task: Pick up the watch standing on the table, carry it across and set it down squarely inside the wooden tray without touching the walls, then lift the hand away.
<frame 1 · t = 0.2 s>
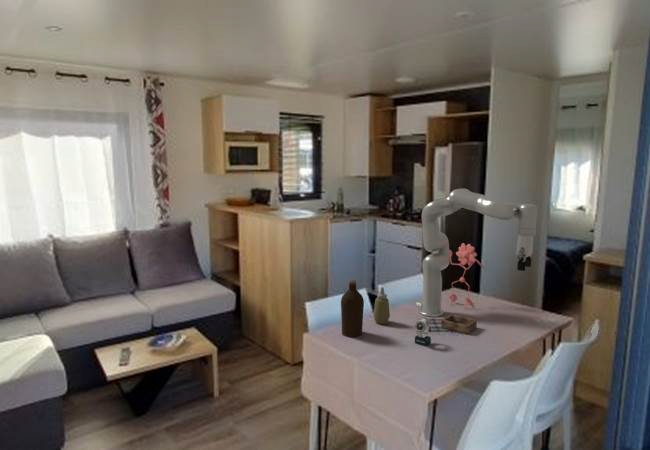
hand: (524, 268, 206), 31 cm above the table, tool pointing down, fingers open, 9 cm apart
olive oil: (352, 333, 209), on the table
watch: (422, 344, 198), on the table
wooden tray: (458, 328, 216), on the table
figurine: (464, 305, 252), on the table
squeeze bottle: (381, 322, 224), on the table
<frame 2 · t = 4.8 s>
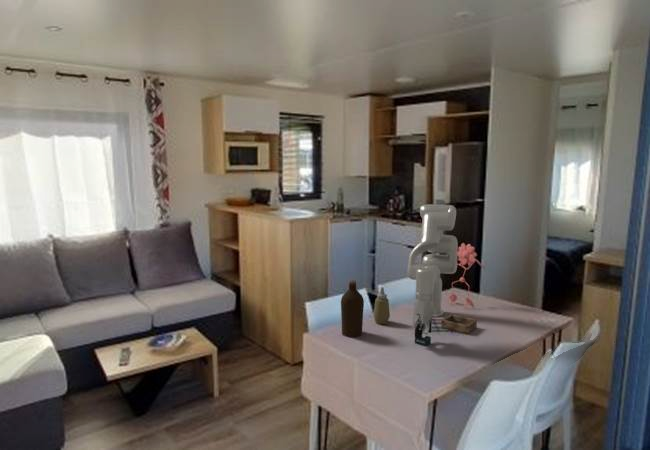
hand: (423, 334, 197), 4 cm above the table, tool pointing down, fingers closed on watch, 8 cm apart
watch: (422, 344, 198), on the table, touching gripper
everything else where it was.
when the fingers open (6 cm above the table, at t = 11.9 s): watch drops 1 cm, resting on wooden tray.
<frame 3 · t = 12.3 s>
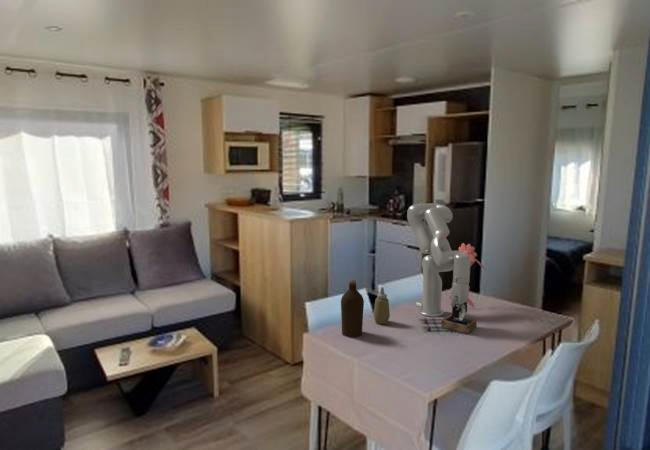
hand: (459, 314, 215), 7 cm above the table, tool pointing down, fingers open, 9 cm apart
watch: (459, 326, 217), point 1 cm above the table, touching wooden tray
everything else where it was.
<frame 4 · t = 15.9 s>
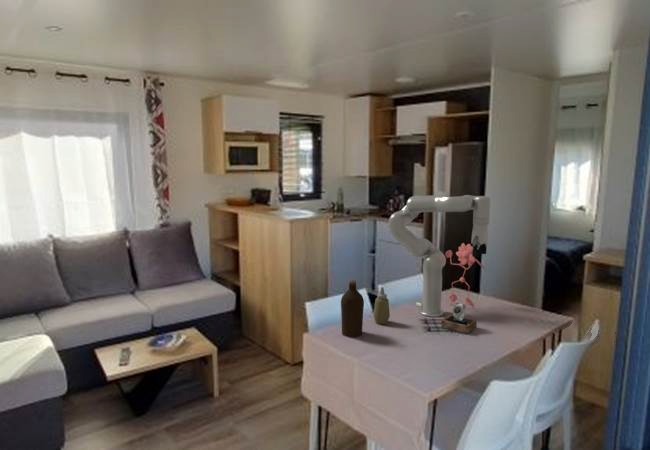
hand: (479, 255, 224), 33 cm above the table, tool pointing down, fingers open, 9 cm apart
nothing on the table moved.
at the end: watch 0.5 cm off-centre on the wooden tray, point 0.6 cm above the wooden tray's base; watch tilted 0°; the gripper is holding nothing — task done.
